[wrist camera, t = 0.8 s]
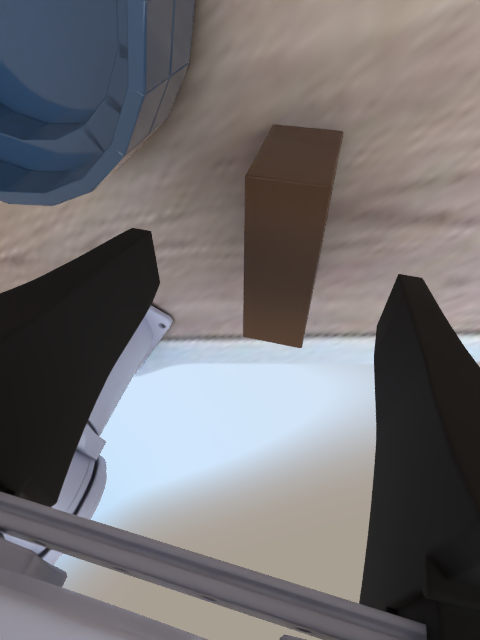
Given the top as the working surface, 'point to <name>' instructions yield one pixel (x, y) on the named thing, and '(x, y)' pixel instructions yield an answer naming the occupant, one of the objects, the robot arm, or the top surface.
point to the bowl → (83, 89)
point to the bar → (286, 229)
